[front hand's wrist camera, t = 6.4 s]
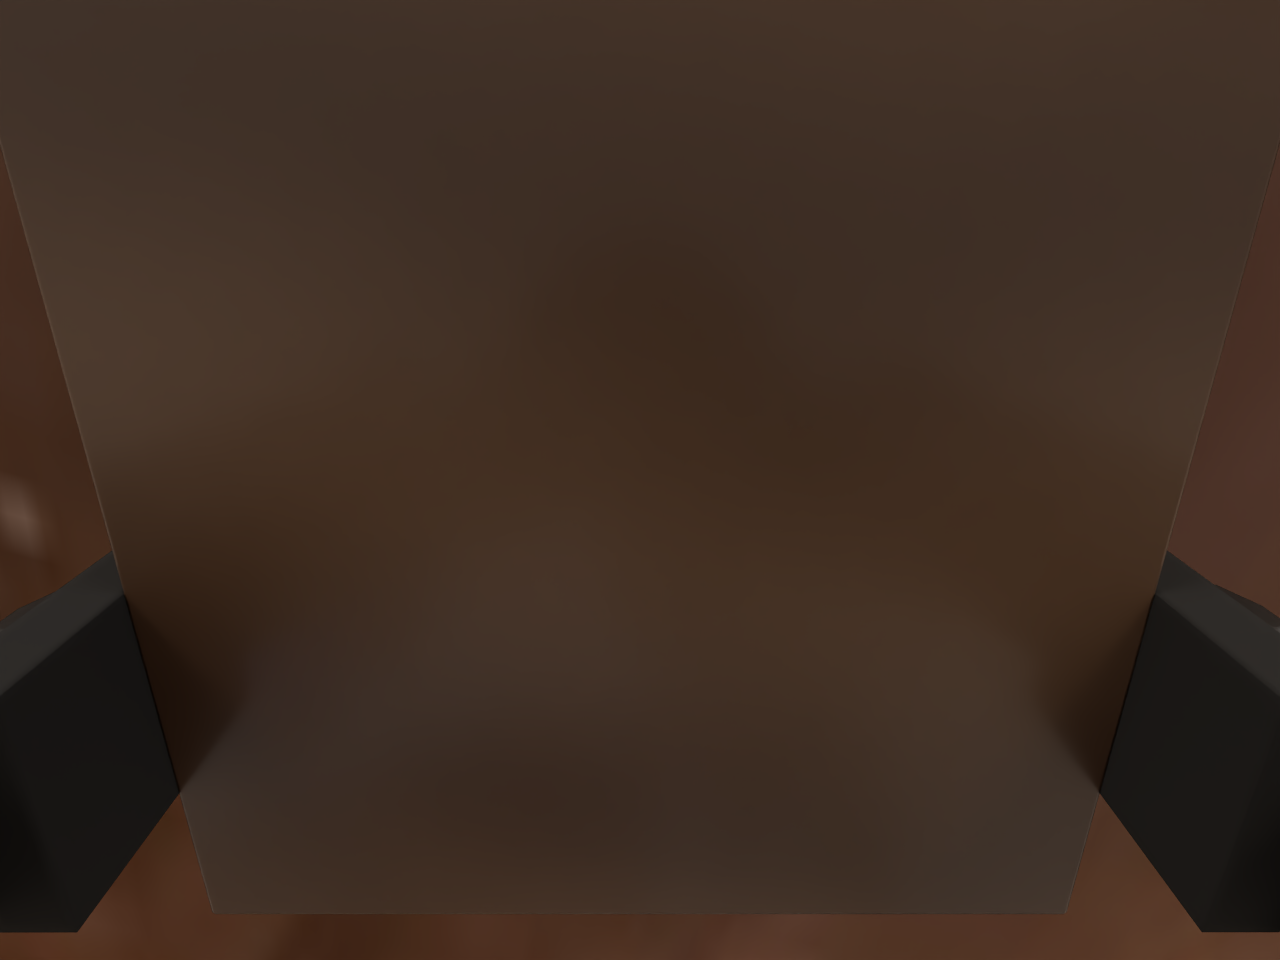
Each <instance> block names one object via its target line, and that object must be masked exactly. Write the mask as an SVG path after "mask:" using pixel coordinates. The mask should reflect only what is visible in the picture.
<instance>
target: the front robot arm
mask: <svg viewBox="0 0 1280 960" xmlns="http://www.w3.org/2000/svg"><path fill="white" fill-rule="evenodd" d="M178 794H179V790H178V786H177V783H176V779H175V775H174V772H173V768H172V765H171V761H170V757H169V754H168V750H167V747H166V743H165V739H164V736H163V732H162V729H161V725H160V721H159V718H158V714H157V710H156V707H155V703H154V700H153V696H152V692H151V689H150V685H149V682H148V678H147V674H146V671H145V667H144V664H143V660H142V656H141V653H140V649H139V645H138V642H137V638H136V635H135V631H134V627H133V624H132V620H131V617H130V613H129V609H128V606H127V602H126V599H125V595H124V591H123V588H122V584H121V580H120V577H119V573H118V570H117V566H116V562H115V559H114V555H113V552H112V551H111V552H109V553H108V554H107V555H105V556H104V557H103V558H101V559H100V560H98V561H97V562H96V563H94V564H93V565H92V566H90V567H89V568H87V569H86V570H85V571H83V572H82V573H81V574H79V575H78V576H76V577H75V578H74V579H72V580H71V581H70V582H68V583H67V584H65V585H64V586H63V587H61V588H60V589H59V590H57V591H56V592H54V593H51V594H49V595H47V596H45V597H43V598H41V599H38V600H36V601H34V602H32V603H30V604H28V605H25V606H23V607H21V608H19V609H17V610H16V611H14V612H13V613H12V614H10V615H9V616H7V617H6V618H5V619H3V620H2V621H0V932H78V930H79V929H80V928H81V926H82V925H83V924H84V922H85V921H86V919H87V918H88V917H89V915H90V914H91V913H92V911H93V910H94V909H95V907H96V906H97V904H98V903H99V902H100V900H101V899H102V898H103V896H104V895H105V894H106V892H107V891H108V889H109V888H110V887H111V885H112V884H113V883H114V881H115V880H116V879H117V877H118V876H119V875H120V873H121V872H122V870H123V869H124V868H125V866H126V865H127V864H128V862H129V861H130V860H131V858H132V857H133V855H134V854H135V853H136V851H137V850H138V849H139V847H140V846H141V845H142V843H143V842H144V840H145V839H146V838H147V836H148V835H149V834H150V832H151V831H152V830H153V828H154V827H155V825H156V824H157V823H158V821H159V820H160V819H161V817H162V816H163V815H164V813H165V812H166V811H167V809H168V808H169V806H170V805H171V804H172V802H173V801H174V800H175V798H176V797H177V796H178ZM1100 794H1101V795H1102V797H1103V798H1104V799H1105V801H1106V802H1107V803H1108V805H1109V806H1110V808H1111V809H1112V810H1113V812H1114V813H1115V814H1116V816H1117V817H1118V818H1119V820H1120V821H1121V823H1122V824H1123V825H1124V827H1125V828H1126V829H1127V831H1128V832H1129V833H1130V835H1131V836H1132V838H1133V839H1134V840H1135V842H1136V843H1137V844H1138V846H1139V847H1140V848H1141V850H1142V851H1143V853H1144V854H1145V855H1146V857H1147V858H1148V859H1149V861H1150V862H1151V863H1152V865H1153V866H1154V868H1155V869H1156V870H1157V872H1158V873H1159V874H1160V876H1161V877H1162V878H1163V880H1164V881H1165V882H1166V884H1167V885H1168V887H1169V888H1170V889H1171V891H1172V892H1173V893H1174V895H1175V896H1176V897H1177V899H1178V900H1179V902H1180V903H1181V904H1182V906H1183V907H1184V908H1185V910H1186V911H1187V912H1188V914H1189V915H1190V917H1191V918H1192V919H1193V921H1194V922H1195V923H1196V925H1197V926H1198V927H1199V929H1200V930H1201V932H1280V618H1278V617H1277V616H1276V615H1274V614H1273V613H1271V612H1270V611H1269V610H1267V609H1266V608H1264V607H1263V606H1261V605H1259V604H1257V603H1255V602H1252V601H1250V600H1248V599H1246V598H1244V597H1241V596H1239V595H1237V594H1235V593H1233V592H1231V591H1228V590H1226V589H1224V588H1222V587H1220V586H1217V585H1214V584H1212V583H1211V582H1209V581H1208V580H1207V579H1205V578H1204V577H1203V576H1201V575H1200V574H1198V573H1197V572H1196V571H1194V570H1193V569H1192V568H1190V567H1189V566H1187V565H1186V564H1185V563H1183V562H1182V561H1181V560H1179V559H1178V558H1176V557H1175V556H1174V555H1172V554H1171V553H1170V552H1168V551H1167V552H1166V555H1165V559H1164V562H1163V566H1162V570H1161V573H1160V577H1159V580H1158V584H1157V588H1156V591H1155V595H1154V598H1153V602H1152V606H1151V609H1150V613H1149V616H1148V620H1147V624H1146V627H1145V631H1144V634H1143V638H1142V642H1141V645H1140V649H1139V652H1138V656H1137V660H1136V663H1135V667H1134V671H1133V674H1132V678H1131V681H1130V685H1129V689H1128V692H1127V696H1126V699H1125V703H1124V707H1123V710H1122V714H1121V717H1120V721H1119V725H1118V728H1117V732H1116V735H1115V739H1114V743H1113V746H1112V750H1111V753H1110V757H1109V761H1108V764H1107V768H1106V771H1105V775H1104V779H1103V782H1102V786H1101V789H1100Z"/></svg>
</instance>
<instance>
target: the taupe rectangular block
mask: <svg viewBox="0 0 1280 960" xmlns="http://www.w3.org/2000/svg"><path fill="white" fill-rule="evenodd" d="M1279 144H1280V0H0V147H1V151H2V154H3V158H4V162H5V165H6V169H7V172H8V176H9V180H10V183H11V187H12V191H13V194H14V198H15V201H16V205H17V209H18V212H19V216H20V219H21V223H22V227H23V230H24V234H25V237H26V241H27V245H28V248H29V252H30V256H31V259H32V263H33V266H34V270H35V274H36V277H37V281H38V284H39V288H40V292H41V295H42V299H43V302H44V306H45V310H46V313H47V317H48V321H49V324H50V328H51V331H52V335H53V339H54V342H55V346H56V349H57V353H58V357H59V360H60V364H61V367H62V371H63V375H64V378H65V382H66V385H67V389H68V393H69V396H70V400H71V404H72V407H73V411H74V414H75V418H76V422H77V425H78V429H79V432H80V436H81V440H82V443H83V447H84V450H85V454H86V458H87V461H88V465H89V469H90V472H91V476H92V479H93V483H94V487H95V490H96V494H97V497H98V501H99V505H100V508H101V512H102V515H103V519H104V523H105V526H106V530H107V534H108V537H109V541H110V544H111V548H112V552H113V555H114V559H115V562H116V566H117V570H118V573H119V577H120V580H121V584H122V588H123V591H124V595H125V599H126V602H127V606H128V609H129V613H130V617H131V620H132V624H133V627H134V631H135V635H136V638H137V642H138V645H139V649H140V653H141V656H142V660H143V664H144V667H145V671H146V674H147V678H148V682H149V685H150V689H151V692H152V696H153V700H154V703H155V707H156V710H157V714H158V718H159V721H160V725H161V729H162V732H163V736H164V739H165V743H166V747H167V750H168V754H169V757H170V761H171V765H172V768H173V772H174V775H175V779H176V783H177V786H178V790H179V793H180V797H181V801H182V804H183V808H184V812H185V815H186V819H187V822H188V826H189V830H190V833H191V837H192V840H193V844H194V848H195V851H196V855H197V858H198V862H199V866H200V869H201V873H202V877H203V880H204V884H205V887H206V891H207V895H208V898H209V902H210V905H211V909H212V912H213V913H215V914H1064V913H1066V912H1067V908H1068V905H1069V901H1070V898H1071V894H1072V890H1073V887H1074V883H1075V880H1076V876H1077V872H1078V869H1079V865H1080V862H1081V858H1082V854H1083V851H1084V847H1085V844H1086V840H1087V836H1088V833H1089V829H1090V826H1091V822H1092V818H1093V815H1094V811H1095V808H1096V804H1097V800H1098V797H1099V793H1100V789H1101V786H1102V782H1103V779H1104V775H1105V771H1106V768H1107V764H1108V761H1109V757H1110V753H1111V750H1112V746H1113V743H1114V739H1115V735H1116V732H1117V728H1118V725H1119V721H1120V717H1121V714H1122V710H1123V707H1124V703H1125V699H1126V696H1127V692H1128V689H1129V685H1130V681H1131V678H1132V674H1133V671H1134V667H1135V663H1136V660H1137V656H1138V652H1139V649H1140V645H1141V642H1142V638H1143V634H1144V631H1145V627H1146V624H1147V620H1148V616H1149V613H1150V609H1151V606H1152V602H1153V598H1154V595H1155V591H1156V588H1157V584H1158V580H1159V577H1160V573H1161V570H1162V566H1163V562H1164V559H1165V555H1166V552H1167V548H1168V544H1169V541H1170V537H1171V534H1172V530H1173V526H1174V523H1175V519H1176V515H1177V512H1178V508H1179V505H1180V501H1181V497H1182V494H1183V490H1184V487H1185V483H1186V479H1187V476H1188V472H1189V469H1190V465H1191V461H1192V458H1193V454H1194V451H1195V447H1196V443H1197V440H1198V436H1199V433H1200V429H1201V425H1202V422H1203V418H1204V415H1205V411H1206V407H1207V404H1208V400H1209V397H1210V393H1211V389H1212V386H1213V382H1214V378H1215V375H1216V371H1217V368H1218V364H1219V360H1220V357H1221V353H1222V350H1223V346H1224V342H1225V339H1226V335H1227V332H1228V328H1229V324H1230V321H1231V317H1232V314H1233V310H1234V306H1235V303H1236V299H1237V296H1238V292H1239V288H1240V285H1241V281H1242V278H1243V274H1244V270H1245V267H1246V263H1247V259H1248V256H1249V252H1250V249H1251V245H1252V241H1253V238H1254V234H1255V231H1256V227H1257V223H1258V220H1259V216H1260V213H1261V209H1262V205H1263V202H1264V198H1265V195H1266V191H1267V187H1268V184H1269V180H1270V177H1271V173H1272V169H1273V166H1274V162H1275V159H1276V155H1277V151H1278V148H1279Z"/></svg>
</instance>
